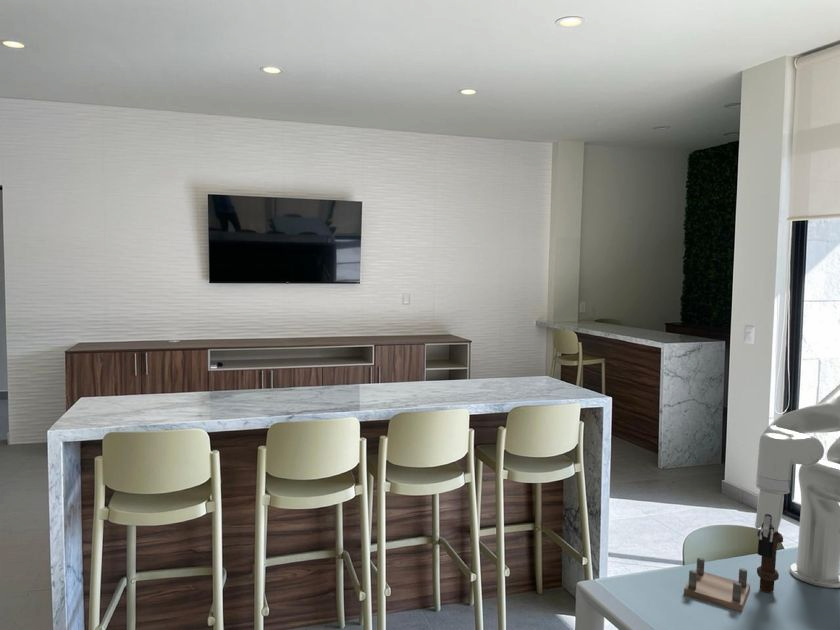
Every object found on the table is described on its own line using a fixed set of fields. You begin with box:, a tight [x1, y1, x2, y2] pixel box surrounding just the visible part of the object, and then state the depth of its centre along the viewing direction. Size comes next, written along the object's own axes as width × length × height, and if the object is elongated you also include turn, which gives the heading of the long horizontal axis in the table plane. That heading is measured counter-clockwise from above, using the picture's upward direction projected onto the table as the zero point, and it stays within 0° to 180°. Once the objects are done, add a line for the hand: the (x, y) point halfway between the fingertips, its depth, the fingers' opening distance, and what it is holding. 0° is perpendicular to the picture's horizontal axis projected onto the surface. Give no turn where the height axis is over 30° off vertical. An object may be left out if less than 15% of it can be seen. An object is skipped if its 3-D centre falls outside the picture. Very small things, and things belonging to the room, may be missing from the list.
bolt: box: [756, 529, 784, 593], centre depth 161 cm, size 6×5×15 cm
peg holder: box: [683, 557, 751, 612], centre depth 159 cm, size 13×13×6 cm
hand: (767, 549), depth 160 cm, fingers open, 9 cm apart
